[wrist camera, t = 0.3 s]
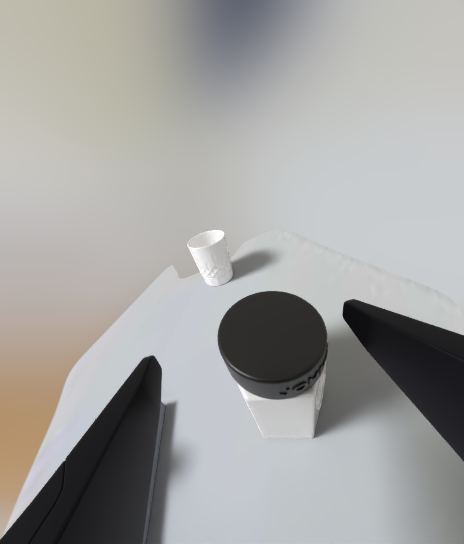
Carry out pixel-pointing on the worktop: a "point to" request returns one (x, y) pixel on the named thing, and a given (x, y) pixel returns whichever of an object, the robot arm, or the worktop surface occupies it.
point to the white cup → (212, 257)
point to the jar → (277, 361)
